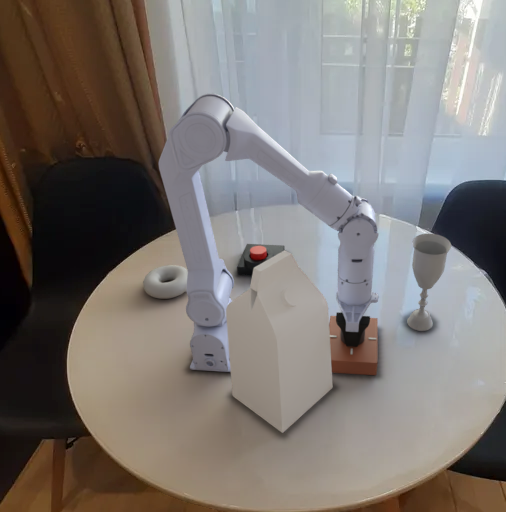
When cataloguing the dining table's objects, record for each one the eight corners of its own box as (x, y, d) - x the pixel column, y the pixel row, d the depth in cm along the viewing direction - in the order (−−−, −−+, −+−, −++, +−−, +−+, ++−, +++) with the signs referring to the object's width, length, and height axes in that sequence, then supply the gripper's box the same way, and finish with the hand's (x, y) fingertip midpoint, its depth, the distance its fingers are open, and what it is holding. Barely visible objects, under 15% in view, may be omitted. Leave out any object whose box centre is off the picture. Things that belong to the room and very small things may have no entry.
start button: (265, 261, 106) (264, 254, 105) (249, 260, 106) (248, 253, 105) (268, 252, 109) (267, 245, 108) (252, 251, 109) (251, 245, 108)
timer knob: (364, 346, 85) (365, 330, 83) (339, 345, 86) (339, 329, 83) (365, 330, 89) (366, 314, 87) (341, 329, 89) (341, 312, 87)
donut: (183, 304, 100) (199, 275, 108) (180, 290, 98) (197, 262, 106) (137, 300, 100) (156, 272, 108) (133, 287, 98) (152, 260, 106)
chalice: (436, 337, 92) (451, 257, 82) (400, 331, 93) (410, 252, 83) (437, 313, 98) (451, 235, 87) (404, 308, 99) (413, 231, 88)
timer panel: (376, 375, 84) (377, 362, 82) (324, 372, 84) (324, 359, 83) (376, 330, 94) (377, 317, 92) (330, 327, 94) (330, 314, 92)
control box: (277, 279, 107) (276, 263, 105) (237, 277, 108) (235, 261, 105) (284, 253, 116) (284, 238, 113) (247, 251, 116) (246, 237, 114)
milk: (283, 356, 87) (274, 230, 72) (332, 387, 82) (334, 257, 66) (232, 395, 80) (210, 263, 65) (282, 433, 74) (271, 297, 59)
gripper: (379, 301, 73) (374, 366, 81) (379, 251, 85) (375, 311, 93) (333, 299, 73) (332, 363, 81) (339, 249, 85) (338, 309, 93)
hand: (352, 335), depth 87 cm, fingers closed on timer knob, 4 cm apart
